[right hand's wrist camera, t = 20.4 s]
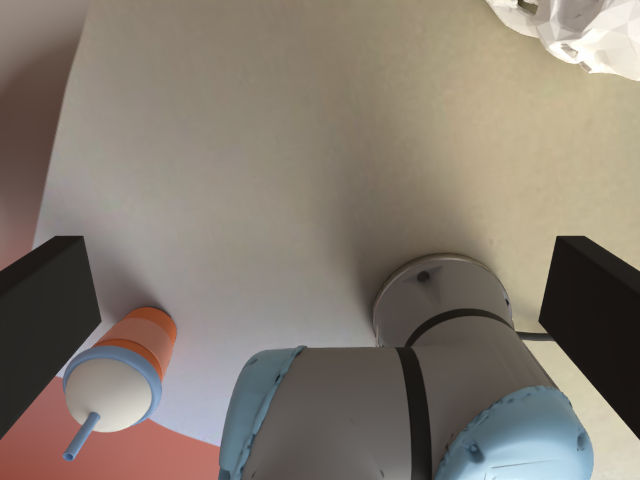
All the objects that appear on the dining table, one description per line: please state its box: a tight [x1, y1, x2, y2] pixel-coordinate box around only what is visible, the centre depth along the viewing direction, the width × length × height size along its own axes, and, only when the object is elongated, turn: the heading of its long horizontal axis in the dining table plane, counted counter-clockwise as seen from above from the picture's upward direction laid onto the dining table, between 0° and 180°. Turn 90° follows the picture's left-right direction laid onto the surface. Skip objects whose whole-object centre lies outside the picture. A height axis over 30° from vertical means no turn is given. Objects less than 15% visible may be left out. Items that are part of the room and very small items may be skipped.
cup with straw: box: [63, 307, 176, 461], centre depth 43 cm, size 9×9×18 cm
